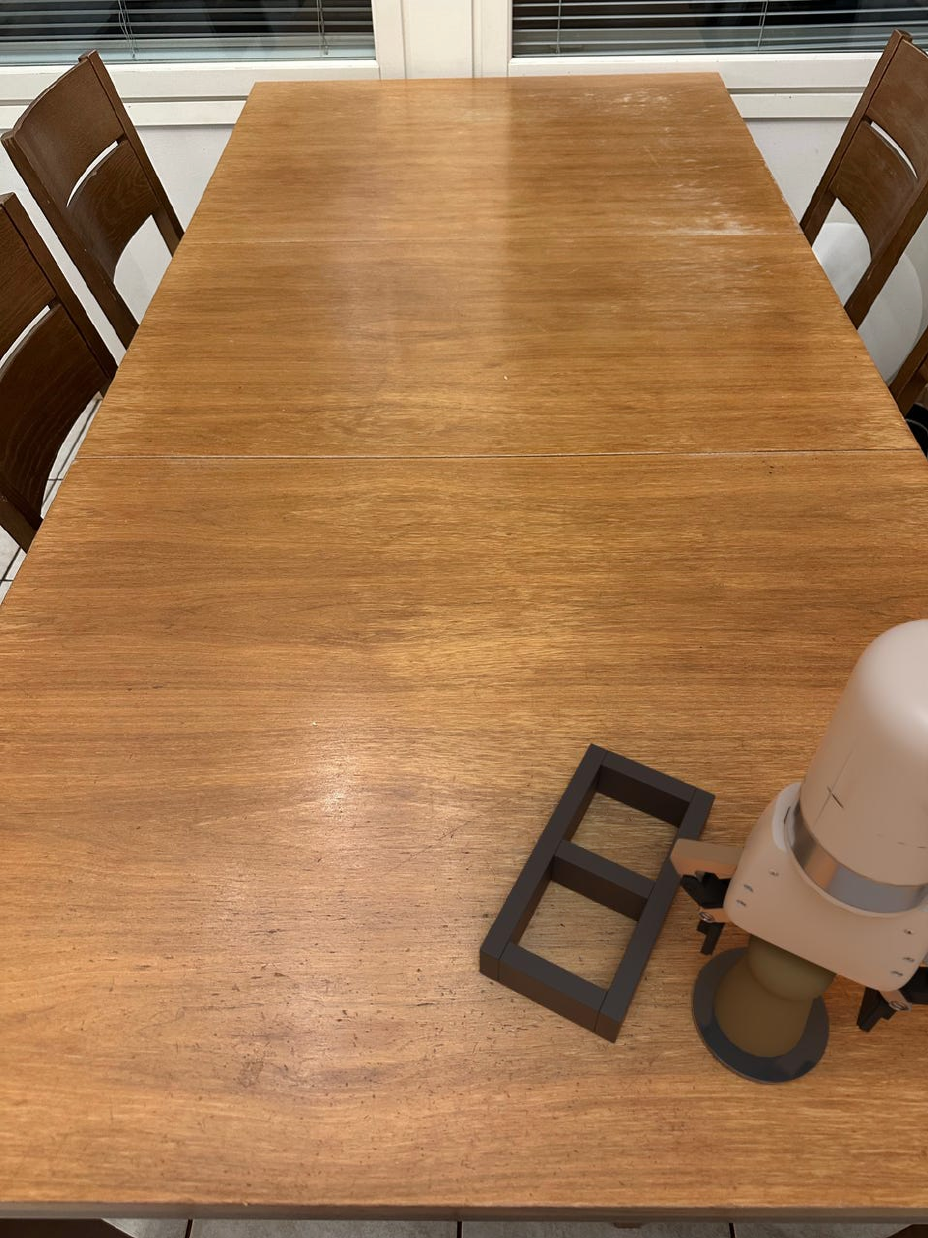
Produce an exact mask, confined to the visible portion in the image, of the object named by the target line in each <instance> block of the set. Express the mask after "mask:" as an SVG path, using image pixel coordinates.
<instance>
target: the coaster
mask: <svg viewBox="0 0 928 1238" xmlns="http://www.w3.org/2000/svg"><path fill="white" fill-rule="evenodd" d="M746 954H747V946H741V947H740V946H739V947H733V948H730V949H727V950H724V951H722V952H720V953H718V954H717V955H715V956H714V957H712V958H711V959H710V960H709V961H708V962H707V963H706V964H705V965H704V966H703V967H702V969H701V971H700V972H699V974H698V976H697V978H696V980H695V983H694V986H693V990H692V997H691V1011H692V1017H693V1021H694V1024H695V1028H696V1031H697V1033H698V1035H699V1037H700V1039H701V1042H702V1043H703V1044H704V1046H705V1048H706V1049H707V1050H708V1052H709V1053H710V1055H712V1056H713V1057H714V1059H715V1060H716V1061H718V1063H719V1064H721V1065H722V1066H723V1067H724V1068H726V1070H728V1071H730V1072H731V1073H733V1074H735V1075H736V1076H738V1077H739V1078H743V1079H744V1080H746V1081H749V1082H753V1083H757V1084H760V1085H770V1086H777V1085H779V1086H780V1085H785V1084H790V1083H793V1082H797V1080H800V1079H802V1078H804V1077H805V1076H807V1075H808V1074H809V1073H810V1072H811V1071H813V1070H814V1069H815V1067H817V1065H818V1064H819V1062H820V1061H821V1060H822V1058H823V1056H824V1054H825V1052H826V1050H827V1046H828V1042H829V1037H830V1019H829V1012H828V1010H827V1006H826V1003H825V1000H824V998H823V995H822V994H821V995H820V996H819V997H817V998H814V999H813V1002H812V1006H811V1009H810V1012H809V1016H808V1019H807V1022H806V1025H805V1029H804V1032H803V1035H802V1037H801V1038H800V1040H799V1042H798V1043H797V1045H796V1046H795V1047H794V1048H793V1049H791V1050H790V1051H789V1052H787V1053H786V1054H783V1055H780V1056H776V1057H758V1056H755V1055H752V1054H750V1053H747V1052H745V1051H743V1050H741V1049H740V1048H739V1047H737V1046H736V1045H735V1044H733V1043H732V1042H731V1041H730V1040H729V1039H728V1038H727V1036H726V1035H725V1034H724V1032H723V1031H722V1030H721V1028H720V1026H719V1024H718V1021H717V1019H716V1016H715V1012H714V1002H713V1000H714V996H715V991H716V987H717V986H718V984H719V983H720V981H721V980H722V978H723V977H724V976H725V975H726V974H727V973H728V972H729V971H730V970H731V969H732V968H733V967H734V966H735V965H736V964H737V963H738V962H739V961H740V960H741V959H742V958H743V957H744V956H745V955H746Z"/></svg>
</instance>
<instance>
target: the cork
mask: <svg viewBox="0 0 928 1238" xmlns="http://www.w3.org/2000/svg"><path fill="white" fill-rule="evenodd" d="M747 941H748V942H747V946H746V947H747V954H746V955H745V956H744V957H743V958H742V959H741V960H740V961H739V962H738V963H737V964H736V965H735V966H734V967H733V968H732V969H731V970H730V971H729V972H728V973H727V974H726V975H725V976H724V977H723V978H722V980H721V981H720V983H719V984H718V986H717V987H716V991H715V996H714V1000H713V1002H714V1012H715V1016H716V1019H717V1021H718V1024H719V1026H720V1028H721V1030H722V1031H723V1032H724V1034H725V1035H726V1036H727V1038H728V1039H729V1040H730V1041H731V1042H732V1043H733V1044H735V1045H736V1046H737V1047H739V1048H740V1049H741V1050H743V1051H745V1052H747V1053H750V1054H752V1055H755V1056H758V1057H776V1056H780V1055H783V1054H786V1053H787V1052H789V1051H790V1050H791V1049H793V1048H794V1047H795V1046H796V1045H797V1043H798V1042H799V1040H800V1038H801V1037H802V1035H803V1032H804V1029H805V1025H806V1022H807V1019H808V1016H809V1012H810V1009H811V1006H812V1002H813V999H814V998H817V997H819V996H820V995H821V996H822V994H824V993H826V992H827V991H828V990H829V989H830V987H831V985H832V984H833V983H834V980H835V979H836V977H837V975H838V974H837V973H835V972H833V971H830V970H828V969H826V968H824V967H822V966H819V965H817V964H815V963H813V962H811V961H808V960H806V959H804V958H802V957H800V956H798V955H796V954H793V953H791V952H789V951H787V950H785V949H783V948H781V947H778V946H776V945H774V944H772V943H770V942H768V941H766V940H764V939H762V938H759V937H757V936H755V935H753V934H751V933H750V934H749V937H748V940H747Z"/></svg>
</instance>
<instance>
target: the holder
mask: <svg viewBox="0 0 928 1238" xmlns="http://www.w3.org/2000/svg"><path fill="white" fill-rule="evenodd" d="M596 793H599V794H601V795H604V796H606V797H609V798H610V799H613V800H614V801H617V802H620V803H622V804H624V805H626V806H629V807H631V808H633V809H636V810H638V811H640V812H642V813H645V814H647V815H650V816H651V817H654V818H656V819H659V820H662V822H663V821H664V822H665V823H668V824H670V825H672V826H675V827H677V828H678V829H677V832H676V833H675V836H674V839H673V841H672V844H671V846H670V848H669V851H668V852H667V855H666V857H665V860H664V862H663V864H662V866H661V869H660V871H659V873H658V875H657V878H656V880H654V879H652V878H649V877H646V876H645V875H642V874H641V873H639V872H636V871H634V870H632V869H629V868H628V867H625V866H623V865H621V864H619V863H616V862H614V861H612V860H610V859H609V858H605V857H604V856H601V855H599V854H597V853H595V852H592V851H590V850H588V849H586V848H585V847H581V846H580V845H577V844H575V843H573V842H572V839H573V838H574V836H575V834H576V832H577V831H578V828H579V827H580V824H581V822H582V820H583V818H584V817H585V815H586V813H587V811H588V809H589V807H590V805H591V803H592V801H593V799H594V797H595V795H596ZM715 799H716V794H714V793H711V792H709V791H707V790H705V789H703V788H700V787H697V786H695V785H692V784H691V783H688V782H685V781H683V780H681V779H679V778H676V777H674V776H671V775H669V774H666V773H665V772H662V771H660V770H657V769H654V768H652V767H650V766H647V765H645V764H642V763H640V762H638V761H636V760H633V759H631V758H628V757H626V756H623V755H621V754H619V753H616V752H614V751H612V750H609V749H607V748H605V747H602V746H599V745H598V744H594V743H593V742H590V744H589V746H588V747H587V749H586V751H585V753H584V754H583V756H582V758H581V760H580V763H579V764H578V766H577V767H576V770H575V771H574V773H573V775H572V777H571V779H570V780H569V782H568V784H567V786H566V788H565V790H564V792H563V794H562V795H561V797H560V799H559V801H558V802H557V805H556V806H555V808H554V810H553V812H552V814H551V816H550V817H549V820H548V821H547V823H546V825H545V826H544V828H543V830H542V832H541V833H540V836H539V838H538V840H537V842H536V843H535V845H534V846H533V849H532V851H531V852H530V854H529V856H528V858H527V860H526V862H525V864H524V866H523V868H522V869H521V871H520V873H519V875H518V877H517V878H516V880H515V882H514V884H513V886H512V887H511V890H510V892H509V893H508V895H507V897H506V899H505V900H504V902H503V905H502V906H501V908H500V910H499V912H498V914H497V916H496V918H495V919H494V921H493V922H492V925H491V927H490V928H489V930H488V932H487V933H486V936H485V938H484V939H483V942H482V944H481V945H480V947H479V952H478V953H479V961H478V962H479V973H480V974H481V975H483V976H486V977H488V978H489V979H490V980H491V979H492V980H493V981H495V982H496V983H498V984H500V985H502V986H504V987H506V988H508V989H510V990H511V991H514V993H515V992H516V993H517V994H519V995H520V996H523V997H525V998H527V999H529V1000H531V1001H533V1002H535V1003H536V1004H538V1005H540V1006H541V1007H544V1008H546V1009H547V1010H550V1011H551V1012H553V1013H555V1014H557V1015H559V1016H560V1017H563V1018H565V1019H566V1020H568V1021H570V1022H572V1023H574V1024H576V1025H578V1026H580V1027H582V1028H583V1029H586V1030H587V1031H589V1032H591V1033H594V1034H595V1035H597V1036H598V1037H601V1038H603V1039H605V1040H607V1041H608V1042H610V1043H612V1044H615V1043H616V1041H617V1038H618V1036H619V1034H620V1031H621V1029H622V1027H623V1024H624V1022H625V1019H626V1017H627V1014H628V1013H629V1010H630V1007H631V1006H632V1004H633V1003H632V1002H633V1000H634V998H635V996H636V993H637V991H638V989H639V986H640V984H641V981H642V978H643V976H644V974H645V972H646V969H647V966H648V964H649V962H650V960H651V957H652V954H653V952H654V950H655V947H656V946H657V942H658V940H659V938H660V935H661V933H662V931H663V929H664V926H665V923H666V921H667V918H668V916H669V914H670V911H671V908H672V906H673V904H674V902H675V899H676V896H677V895H678V892H679V889H680V887H681V885H680V881H681V879H682V878H681V876H680V874H677V872H676V870H675V868H674V866H673V864H672V862H671V860H670V855H671V853H672V850H673V848H674V846H675V843H676V841H677V839H679V838H680V839H688V840H695V841H700V839H701V836H702V834H703V832H704V829H705V827H706V825H707V823H708V819H709V816H710V814H711V810H712V808H713V805H714V803H715ZM551 881H552V882H554V883H556V884H558V885H560V886H563V887H564V888H566V889H569V890H571V891H573V892H574V893H577V894H579V895H581V896H583V897H586V898H587V899H590V900H592V901H593V902H596V903H597V904H599V905H602V906H604V907H606V908H608V909H611V910H612V911H615V912H616V913H619V914H621V915H623V916H625V917H627V918H628V919H631V920H632V921H636V922H637V924H636V926H635V928H634V930H633V933H632V935H631V937H630V940H629V942H628V944H627V947H626V949H625V951H624V952H623V953H624V954H623V956H622V958H621V960H620V962H619V965H618V967H617V970H616V972H615V974H614V976H613V979H612V981H611V983H610V986H609V987H608V990H607V989H604V988H602V987H600V986H598V985H597V984H595V983H592V982H591V981H589V980H587V979H585V978H583V977H581V976H579V975H577V974H576V973H573V972H571V971H569V970H567V969H565V968H564V967H561V966H559V965H557V964H555V963H553V962H551V961H549V960H548V959H545V958H543V957H541V956H540V955H538V954H536V953H534V952H532V951H530V950H527V949H526V948H524V947H522V946H520V945H519V942H520V941H521V939H522V937H523V934H524V933H525V932H526V928H527V927H528V925H529V924H530V921H531V919H532V917H533V915H534V913H535V911H536V910H537V908H538V907H539V904H540V902H541V900H542V898H543V896H544V894H545V893H546V891H547V888H548V886H549V885H550V883H551Z"/></svg>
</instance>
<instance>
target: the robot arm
mask: <svg viewBox="0 0 928 1238" xmlns="http://www.w3.org/2000/svg"><path fill="white" fill-rule="evenodd" d="M670 860H671V862H672V864H673V866H674V868H675V870H676V872H677V874H680V876H681V878H682V879H681V881H680V887H681V888H682V889H683V890H684V891H685V892H686V894H687V895H688V896H689V897H690V898H691V899H692V900H693V902H694V903H696V905H697V906H698V908H697V910H696V914H697V917H698V918H699V921H698V924H697V926H696V929H695V931H696V932H698V933H701V934H702V935H704V936H705V938H704V940H703V943H702V946H701V948H700V951H699V954H701V955H704V956H706V957H708V956H710V957H711V956H713V953H714V951H715V949H716V947H717V944H718V942H719V939H720V938H721V935H722V933H723V930H724V927H725V925H726V923H733V924H734V925H736V926H737V927H739V928H740V929H742V930H743V931H745V932H747V933H750V934H753V935H755V936H757V937H759V938H762V939H764V940H766V941H768V942H770V943H772V944H774V945H776V946H778V947H781V948H783V949H785V950H787V951H789V952H791V953H793V954H796V955H798V956H800V957H802V958H804V959H806V960H808V961H811V962H813V963H815V964H817V965H819V966H822V967H824V968H826V969H828V970H830V971H833V972H835V973H837V974H836V975H840V976H841V977H844V978H846V979H848V980H851V981H852V982H855V983H858V984H860V985H862V986H865V988H864V992H863V995H862V1000H861V1003H860V1007H859V1011H858V1015H857V1019H856V1023H855V1024H856V1026H858V1030H861V1031H863V1032H865V1033H866V1034H868V1033H870V1032H871V1030H873V1028H874V1027H875V1026H876V1024H878V1022H879V1021H880V1020H881V1019H884V1020H885V1021H890V1019H891V1018H892V1017H893V1016H894V1015H895V1014H896V1013H897V1012H900V1013H910V1012H911V1011H912V1009H913V1005H919V1006H928V618H922V619H916V620H910V621H906V622H903V623H901V624H900V623H899V624H898V625H894V626H893V627H891V628H889V629H887V630H885V631H883V632H882V633H880V634H879V635H878V636H877V637H875V639H873V640H872V641H871V642H870V643H869V644H868V645H867V646H866V647H865V649H864V650H863V651H862V653H861V654H860V656H859V657H858V660H857V661H856V663H855V665H854V667H853V669H852V670H851V673H850V675H849V678H848V680H847V682H846V684H845V686H844V688H843V691H842V693H841V695H840V697H839V699H838V702H837V704H836V707H835V709H834V711H833V713H832V716H831V717H830V719H829V721H828V724H827V726H826V729H825V730H824V733H823V735H822V737H821V739H820V742H819V743H818V746H817V748H816V750H815V752H814V754H813V757H812V759H811V761H810V762H809V765H808V767H807V770H806V772H805V775H804V776H803V778H802V780H801V781H794V782H792V783H789V784H788V785H786V786H785V787H784V788H783V789H781V791H779V792H778V794H776V795H775V796H774V797H773V799H771V800H770V802H769V803H768V805H766V807H765V808H764V809H763V811H762V812H761V814H760V815H759V817H758V818H757V820H756V822H755V824H754V825H753V827H752V829H751V830H750V832H749V835H748V837H747V839H746V840H745V843H744V845H743V846H742V847H739V846H732V845H726V844H719V843H715V842H714V843H713V842H707V841H700V840H699V841H695V840H688V839H680V838H679V839H677V841H676V843H675V846H674V848H673V850H672V853H671V855H670ZM921 964H923V965H924V966H921Z"/></svg>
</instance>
